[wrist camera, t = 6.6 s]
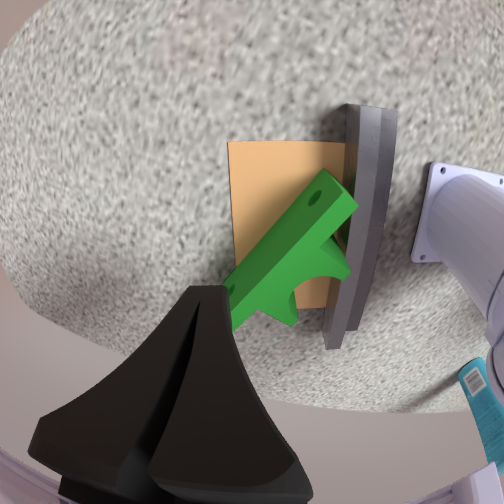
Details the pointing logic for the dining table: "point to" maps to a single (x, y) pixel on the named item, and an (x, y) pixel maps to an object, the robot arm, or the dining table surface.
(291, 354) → the dining table surface
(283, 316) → the pipe clamp
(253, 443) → the robot arm
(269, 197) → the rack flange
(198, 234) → the dining table surface
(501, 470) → the tube
